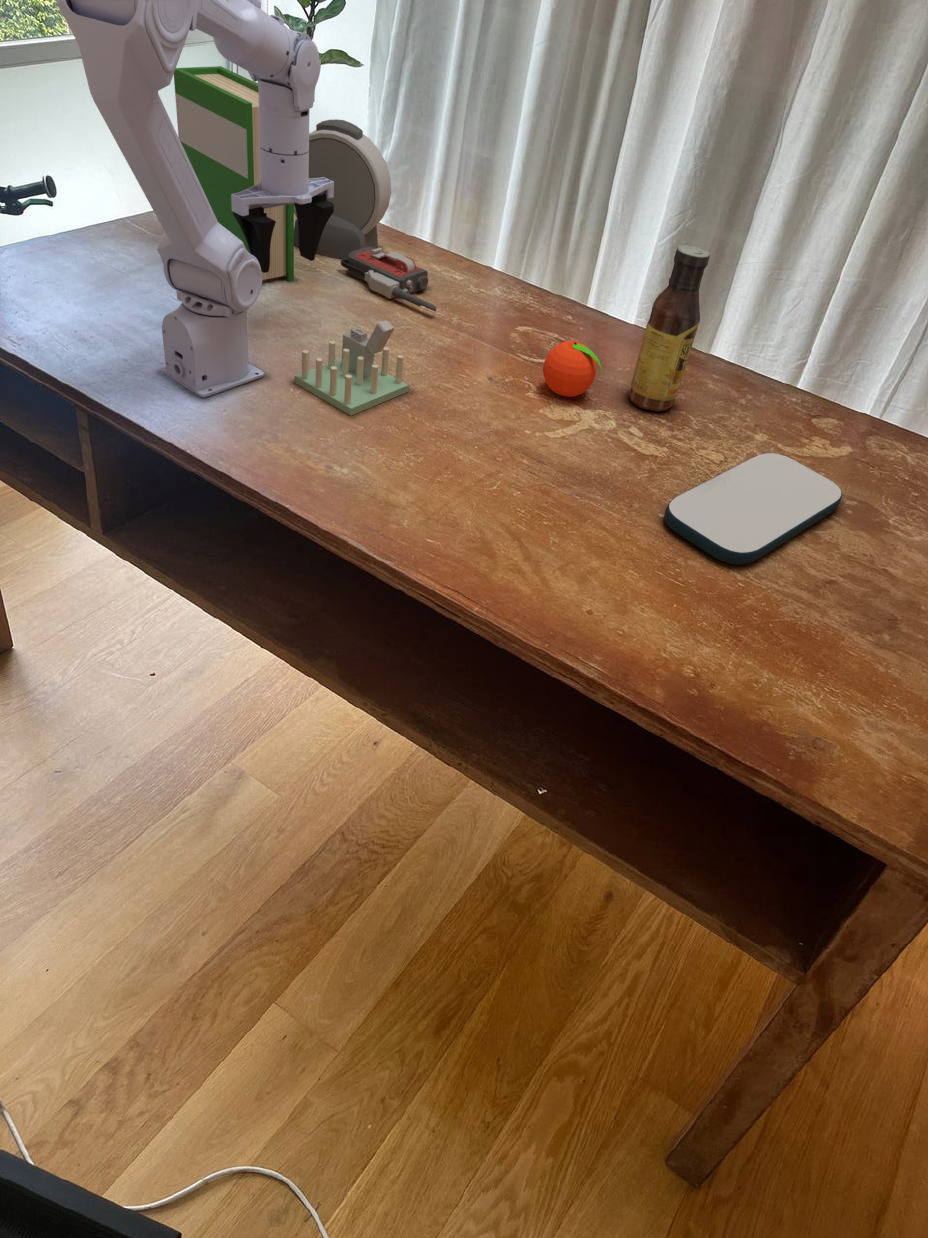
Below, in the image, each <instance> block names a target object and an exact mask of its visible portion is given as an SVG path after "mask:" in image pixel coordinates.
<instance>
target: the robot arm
mask: <svg viewBox="0 0 928 1238" xmlns="http://www.w3.org/2000/svg"><path fill="white" fill-rule="evenodd" d="M56 5H57V6H58V9H59V11H60V12H61V14H62V16H63V18H64V21H65V22H66V24H67V26H68V28H69V30H70V31H71V34H72V35H73V37H74V39H75V41H76V43H77V44H78V49H79V52H80V56H81V62H82V64H83V69H84V74H85V78H86V81H87V85H88V89H89V93H90V95H91V98H92V100H93V103H94V104H95V107H96V108H97V109H98V111H99V113H100V115H101V117H102V119H103V121H104V123H105V124H106V126H107V128H108V130H109V132H110V133H111V136H112V138H113V139H114V141H115V142H116V145H117V146H118V148H119V151H120V152H121V154H122V156H123V158H124V160H125V161H126V163H127V164H128V165H127V166H129V169H130V170H131V172H132V174H133V176H134V177H135V180H136V181H137V182H138V183H137V184H138V185H139V187H140V188H141V190H142V192H143V194H144V196H145V198H146V200H147V201H148V204H149V205H150V208H151V209H152V210H153V212H154V214H155V216H156V218H157V220H158V222H159V223H160V226H161V227H162V229H163V231H164V232H163V234H162V235H161V237H160V239H159V241H158V245H157V248H156V250H157V252H158V254H159V256H160V259H161V262H162V267H163V273H164V277H165V280H166V282H167V284H168V286H169V287H170V288H172V289H173V290H176V299H177V300H178V301H179V302H181V304H180V305H179V306H178V307H177V308H176V309H175V310H173V311H171V312H169V313H167V314H165V316H164V317H163V318H162V322H161V333H162V334H161V335H162V343H163V353H164V364H165V367H163V368H162V369H161V371H162V373H163V374H165V375H166V376H168V377H169V378H171V379H172V380H174V381H175V382H177V383H178V384H180V385H182V386H183V387H185V388H186V389H188V390H189V391H191V392H192V393H194V394H196V395H197V396H198V397H200V398H207V397H209V396H212V395H215V394H217V393H221V392H224V391H226V390H230V389H233V388H235V387H238V386H240V385H244V384H246V383H249V382H253V381H255V380H258V379H260V378H263V377H264V376H265V372H264V371H263V370H261V369H260V368H258V367H256V366H254V365H252V364H251V363H250V361H249V337H248V336H249V335H248V334H249V333H248V332H249V331H248V310H249V309H250V308H251V307H253V305H254V304H255V302H257V300H258V298H259V296H260V294H261V290H262V285H263V280H262V272H263V273H266V272H269V267H270V244H271V238H272V233H273V229H274V226H275V223H276V221H275V220H273V219H271V218H269V217H267V213H264V209H268V208H273V207H278V206H282V205H287V204H292V203H294V205H295V209H296V214H297V217H296V220H298V229H299V247H298V250H299V256H300V257H302V258H303V259H306V260H308V261H310V262H313V261H315V259H316V255H317V253H316V252H317V248H318V244H319V241H320V238H321V235H322V232H323V230H324V228H325V226H326V224H327V222H328V220H329V218H330V217H331V215H332V214H333V212H334V204H333V203H332V202H329V201H327V198H333V197H334V181H331V180H329V179H327V178H324V177H321V178H309V133H310V109H313V107H314V103H315V97H316V96H315V95H316V94H315V91H316V87H317V84H318V81H319V78H320V74H321V68H322V67H321V66H322V60H321V59H320V53H319V49H318V47H317V45H316V43H315V42H314V41H313V40H312V38H311V37H310V35H309V34H307V33H306V32H302V31H298V30H297V31H296V30H293V29H289V28H288V26H286V25H285V19H284V18H282V17H281V16H279V15H275V14H268V13H267V12H265V11H264V10H263V9H261V8H262V2H261V0H56ZM195 30H197V31H200V32H202V33H204V34H206V35H208V36H209V37H212V39H213V43H214V45H215V48H216V50H217V51H218V53H219V54H220V55H221V57H223V58H224V59H225V60H227V61H228V62H230V63H233V64H234V65H236V66H238V67H240V68H242V69H243V70H245V71H247V72H248V75H249V77H250V79H251V81H254V82H257V83H258V93H259V142H260V183H259V184H257V185H254V186H252V187H250V188H248V189H246V190H243V191H241V192H238V193H234V194H231V204H232V211H233V215H234V217H235V218H236V220H237V222H238V224H239V226H240V227H241V229H242V231H243V234H244V236H245V238H246V241H247V244H248V247H249V250H250V253H251V254H250V253H249V252H248V251H247V250H246V248H245V246H244V243H243V242H242V241H241V240H240V239H239V238H237V237H236V236H235V235H234V234H232V233H231V232H230V231H228V230H227V229H226V228H225V227H223V226H222V225H221V224H220V223H219V222H218V221H217V219H216V217H215V215H214V213H213V210H212V208H211V206H210V204H209V202H208V200H207V198H206V195H205V193H204V191H203V189H202V187H201V185H200V182H199V180H198V178H197V176H196V174H195V172H194V170H193V167H192V165H191V163H190V161H189V159H188V157H187V155H186V152H185V150H184V148H183V146H182V144H181V142H180V139H179V137H178V132H177V131H176V129H175V127H174V124H173V123H172V120H171V118H170V116H169V114H168V112H167V110H166V107H165V105H164V103H163V101H162V99H161V96H160V94H159V91H161V90H162V89H165V88H166V87H168V86H170V85H171V83H172V80H173V79H174V72H175V69H176V68H177V66H178V63H179V62H180V61H179V60H180V58H181V55H182V52H183V49H184V47H185V43H186V40H187V38H188V34H189V32H190V31H191V32H194V31H195Z"/></svg>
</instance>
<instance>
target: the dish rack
mask: <svg viewBox="0 0 928 1238" xmlns="http://www.w3.org/2000/svg"><path fill="white" fill-rule="evenodd" d="M309 353H310V351H309V350H307V349H303V350H301V372H300V373H297V374H294V383H295V384H297V385H298V386H299V387H301V388H303V389H305V390H306V391H308V392H310V393H311V394H313V395H315V396H317V397H318V398H320V399H322V400H323V401H325V402H326V403H329V404H330V405H332V406H333V407H335V408H336V409H339V410H340V411H341V412H343V413H345V414H347V415H348V416H351V417H352V416H353V415H356V414H358V413H361V412H363V411H365V410H368V409H370V408H373V407H375V406H377V405H381V404H383V403H385V402H387V401H390V400H392V399H395V398H397V397H399V396H402V395H404V394H406V393H408V392H409V386H410V385H409V384H408V383H406V382H404V381H403V371H404V361H405V356H404V355H403V354H398V355H397V356H396V358H397V359H396V368H395V376H393V375H391V374H390V373H388V371H389V359H390V348H389V347H387V346H384V348H383V350H382V356H381V367H380V368H379V365H378V364H374V363H375V357H374V358H373V365H372V372H371V376H370V377H367V378H363V366H364V358H363V357H361V356H359V357H358V358H357V373H356V374H354V373H352V372H350V371H349V353H350V350H349V349H343V362H342V358H339V359H336V341H334V340H329V341H328V358H327V359H328V363H325V364H324V360H323V358H322V357H317V358H316V359H315V367H314V368H311V369H309V364H310V363H309V359H310V358H309Z"/></svg>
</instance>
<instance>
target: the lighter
mask: <svg viewBox="0 0 928 1238" xmlns="http://www.w3.org/2000/svg"><path fill="white" fill-rule="evenodd" d="M394 330H395V328H394V326H393V325H392V324H391V323H390V321H388V319H385V320H381V321H379V322H377V323H376V326H375V327H374V329H373V331H372V333H371V335H370V337H369V338H368V332H367V331H365V330H363V329H361V328H359V327H355V328H351V329H350V330H349V331H346V332H344V333H342V346H341V359H342V362H343V349H349V350H350V353H349V371H350V372H352V373H354V374H356V373H357V358H358V357H359V356H361V357H363V358H364V366H363V378H367V377H370V376H371V372H372V365H373V358H374V359H375V355H376V354H378V353H381V352H383V348H384V347H386V345H387V343H388V341H389V339H390V337H391V336H392V334H393V332H394Z"/></svg>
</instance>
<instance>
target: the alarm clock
mask: <svg viewBox="0 0 928 1238" xmlns="http://www.w3.org/2000/svg"><path fill="white" fill-rule="evenodd" d="M321 177H324V178H327V179H329V180H331V181H334V197H333V198H327V201H329V202H332V203H333V204H334V212H333V214H332V215H331V217H330V218H329V220H328V222H327V224H326V226H325V228H324V230H323V232H322V235H321V238H320V241H319V244H318V248H317V252H316V255H320V256H323V257H324V256H325V257H330V258H334V259H340V260H342V259H348V260H349V253H350V252H352V251H356V250H359V249H362V248H366V247H369V246H370V247H373V248H376V249H377V248H379V239H378V224H379V223H380V222H381V221H382V220H383V218H384V216H385V214H386V212H387V210H388V208H389V206H390V201H391V196H392V181H391V174H390V171H389V166H388V164H387V161H386V159H385V157H384V155H383V154H382V151H381V150H380V149H379V148H378V147H377V145H376V144H375V143H374V142H373V140H371V138H370V137H368V136H367V135H365V134H364V131H363V129H361V128H360V127H358V126H357V125H356V124H355V123H352V122H350V121H347V120H344V119H326V120H321V121H320V122H318V123H317V124H316V125H315V130H313V131H311V132H309V178H321ZM294 217H295V218H297V214H296V209H295V205H294ZM294 247H298V248H299V229H298V220H297V219H294Z"/></svg>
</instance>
